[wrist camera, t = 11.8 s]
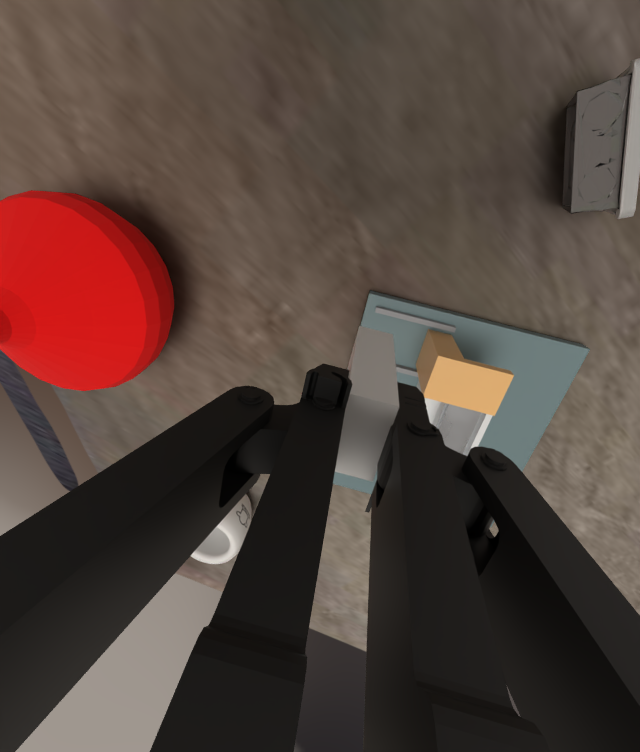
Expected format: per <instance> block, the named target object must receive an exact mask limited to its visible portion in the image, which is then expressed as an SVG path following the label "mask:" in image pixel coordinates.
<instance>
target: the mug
mask: <svg viewBox="0 0 640 752" xmlns="http://www.w3.org/2000/svg"><path fill="white" fill-rule="evenodd" d="M251 511H252V509H251V503H250V500H249V498H248V496H247V495H246V494H245V495H244V496H243V498H242V499H241V500H240V501H239V502H238V503H237V504H236V505H235V506H234V508H233V509H232V510H231V511H230V512H229V513H228V514H227V515H226V517H225V518H224V519H223V520H222V521H221V522H220V523H219V524H218V525H217V527H216V528H215V529H214V530H213V531H212V532H211V533H210V534H209V536H208V537H207V538H206V539H205V540H204V541H203V542H202V543H201V544H200V546H199V547H198V548H197V549H196V550H195V551H194V552H193V553H192V555H191V557H193V558H195V559H196V560H199V561H201V562H204V563H209V564H221V563H225V562H227V561H229V560H230V559H232V558H233V557H234V556H235V555H236V554H237V553H238V552H239V550H240V549H241V546H242V544H243V541H244V539H245V536H246V534H247V531H248V529H249V526H250V523H251Z"/></svg>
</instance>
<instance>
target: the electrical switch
mask: <svg viewBox="0 0 640 752" xmlns="http://www.w3.org/2000/svg"><path fill="white" fill-rule="evenodd" d="M576 104H577V105H576ZM572 105H574V106H572ZM568 106H571V107H568ZM570 136H571V137H572V138H571V137H570ZM572 172H573V173H572ZM571 173H572V175H571ZM639 173H640V58H638V59H634V60H632V61H631V62H630V67H629V68H628V69H626V70H625V71H624V72H623V73H622V74H620V75H619V76H618V77H617V78H616V79H613V80H609V81H606V82H603V83H601V84H598V85H596V86H593V87H590V88H587V89H583V90H579V91H577V92H576V94H575V95H574V96H573V98H572V99H571V101H570V102H569V104H568V105H567V117H566V138H565V160H564V182H563V203H562V204H563V208H564V209H565V210H567V211H568V212H569V213H571V214H572V213H577V212H589V211H598V210H599V211H601V212H602V211H603V210H604V211H607V212H609V213H611V214H614V215H616V218H617V219H621V218H626V217H632V216H633V215H634V212H635V209H636V200H637V191H638V182H639ZM570 176H571V177H570ZM568 185H569V186H570V187H569V186H568ZM565 205H569V206H565Z"/></svg>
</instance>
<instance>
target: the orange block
mask: <svg viewBox="0 0 640 752" xmlns="http://www.w3.org/2000/svg"><path fill="white" fill-rule="evenodd" d="M416 369H417V373H418V378H419V383H420V387H421V392H422V393H423V395H424V398H428V399H432V400H436V401H439V402H443V403H447V404H451V405H455V406H458V407H462V408H466V409H470V410H474V411H477V412H481V413H485V414H489V415H493V416H495V414H496V412H497V410H498V408H499V406H500V404H501V402H502V400H503V398H504V396H505V394H506V391H507V389H508V387H509V385H510V383H511V381H512V379H513V377H514V374H513V373H512V372H511V371H510V370H506V369H502V368H498V367H494V366H491V365H487V364H483V363H479V362H475V361H471V360H467V359H464V357H463V355H462V353H461V352H460V350H459V348H458V346H457V344H456V342H455V340H454V338H453V336H452V335H450V334H446V333H442V332H438V331H434V330H430V329H428V331H427V334H426V337H425V340H424V342H423V345H422V348H421V351H420V354H419V357H418V359H417V362H416Z"/></svg>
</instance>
